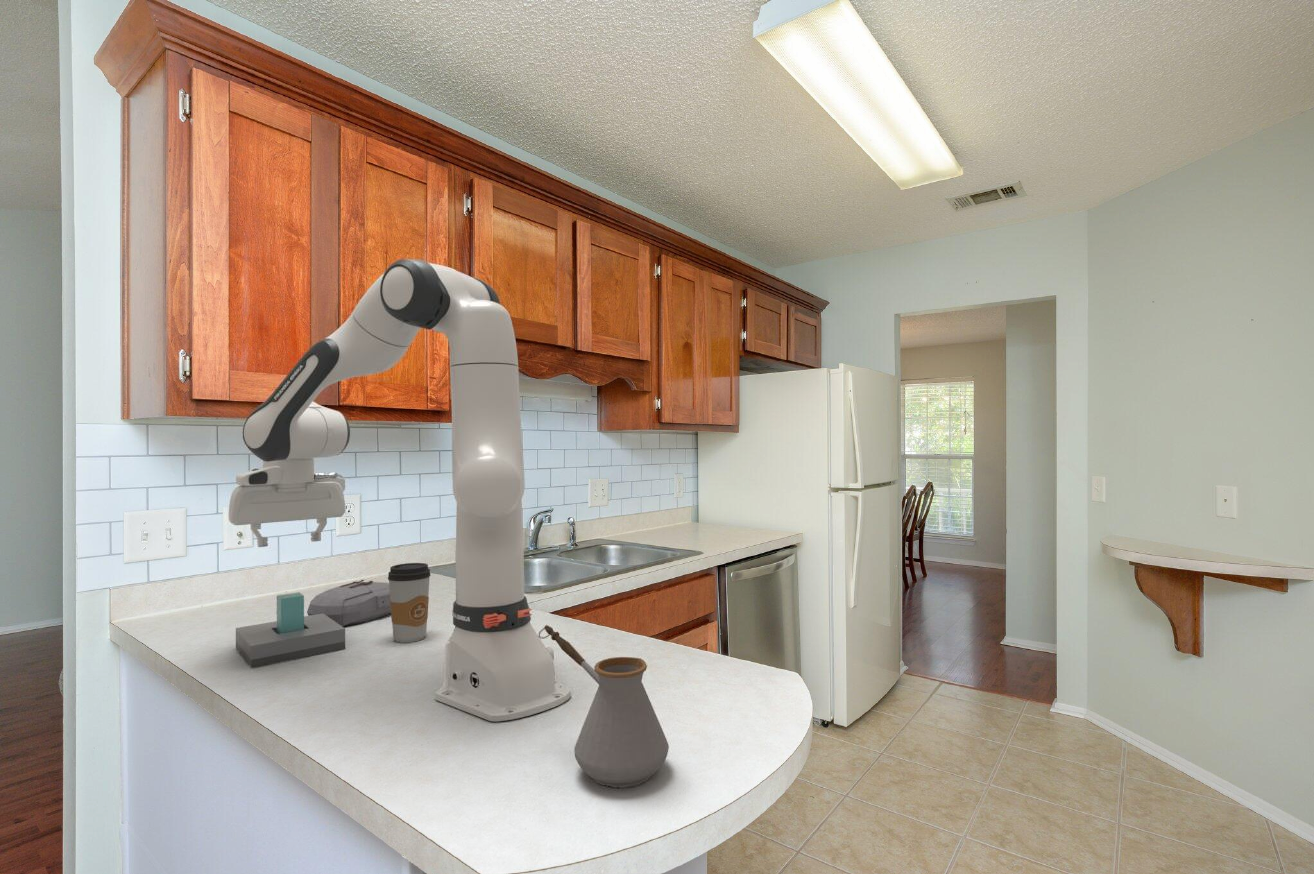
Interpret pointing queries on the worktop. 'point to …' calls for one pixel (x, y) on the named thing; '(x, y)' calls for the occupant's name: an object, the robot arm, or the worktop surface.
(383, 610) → the small grey backpack
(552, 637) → the coffee pot
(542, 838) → the worktop surface
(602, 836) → the worktop surface
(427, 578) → the coffee cup
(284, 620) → the plug
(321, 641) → the socket
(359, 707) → the worktop surface
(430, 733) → the worktop surface
